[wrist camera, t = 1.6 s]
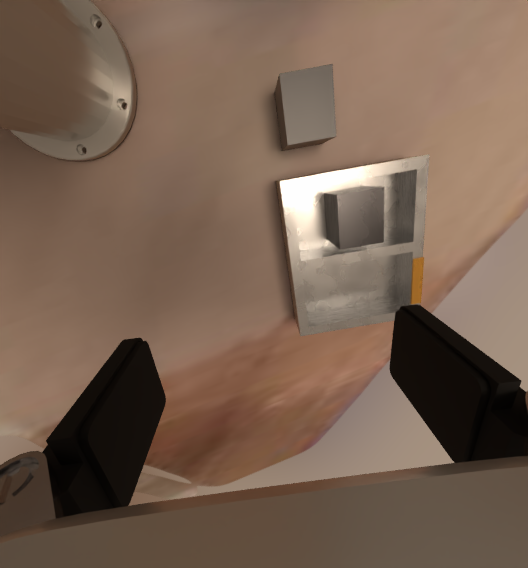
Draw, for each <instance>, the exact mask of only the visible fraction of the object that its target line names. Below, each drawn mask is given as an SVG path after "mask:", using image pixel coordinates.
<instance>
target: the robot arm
mask: <svg viewBox="0 0 528 568" xmlns="http://www.w3.org/2000/svg"><path fill="white" fill-rule="evenodd" d="M101 24H102V26H101V28H99V26H100V25H101ZM136 102H137V91H136V80H135V75H134V71H133V66H132V63H131V60H130V58H129V55H128V52H127V50H126V47H125V46H124V44H123V42H122V40H121V38H120V36H119V35H118V33H117V31H116V30H115V28H114V27H113V26H112V24H111V23H110V22H109V20H108V19H107V18H106V16H105V15H104V14H103V13H102V12H101V11H100V10H99V9H98V8H97V7H96V5H95V4H94V3H93V2H92V1H91V0H0V128H4V129H9V130H10V131H11V132H12V134H14V135H15V136H16V137H17V138H19V139H20V140H21V141H23V142H24V143H25V144H27V145H28V146H30V147H32V148H34V149H35V150H37V151H39V152H41V153H43V154H46V155H49V156H52V157H54V158H59V159H65V160H73V161H86V160H94V159H97V158H99V157H102V156H105V155H107V154H108V153H110V152H111V151H113V150H114V149H116V148H117V146H118V145H119V144H120V143H121V142H122V141H123V140H124V139H125V137H126V135H127V133H128V132H129V130H130V128H131V125H132V122H133V119H134V116H135V110H136ZM125 104H127V108H126V109H124V105H125ZM85 148H86V150H87V152H85ZM390 373H391V375H392V377H393V379H394V380H395V381H396V383H397V384H398V386H399V387H400V388H401V390H402V391H403V393H404V394H405V395H406V397H407V398H408V400H409V401H410V402H411V404H412V405H413V406H414V408H415V409H416V410H417V412H418V413H419V415H420V416H421V417H422V419H423V420H424V421H425V423H426V424H427V426H428V427H429V429H430V430H431V431H432V433H433V434H434V435H435V437H436V438H437V440H438V441H439V442H440V444H441V445H442V446H443V448H444V449H445V451H446V452H447V453H448V455H449V456H450V458H451V459H452V460H453V461H454V462H455V463H451V464H444V465H435V466H427V467H419V468H411V469H404V470H395V471H387V472H379V473H371V474H362V475H355V476H347V477H340V478H332V479H324V480H316V481H309V482H301V483H293V484H285V485H278V486H270V487H262V488H255V489H247V490H240V491H233V492H225V493H218V494H210V495H203V496H197V497H188V498H181V499H174V500H166V501H159V502H152V503H145V504H138V505H132V506H128V505H129V503H130V501H131V498H132V496H133V493H134V490H135V487H136V484H137V482H138V479H139V476H140V473H141V471H142V468H143V465H144V462H145V460H146V457H147V454H148V451H149V448H150V446H151V443H152V440H153V437H154V435H155V432H156V429H157V426H158V423H159V421H160V418H161V415H162V412H163V410H164V407H165V402H166V398H165V393H164V390H163V387H162V384H161V381H160V378H159V375H158V372H157V369H156V366H155V363H154V360H153V357H152V354H151V351H150V348H149V345H148V343H147V341H143V340H142V339H141V338H134V339H125V340H123V341H122V342H121V343H120V344H119V346H118V347H117V348H116V350H115V351H114V352H113V354H112V355H111V356H110V357H109V359H108V360H107V361H106V363H105V364H104V365H103V367H102V368H101V369H100V371H99V372H98V373H97V374H96V376H95V377H94V378H93V380H92V381H91V382H90V384H89V385H88V386H87V388H86V389H85V390H84V392H83V393H82V394H81V395H80V397H79V398H78V399H77V401H76V402H75V403H74V405H73V406H72V407H71V409H70V410H69V411H68V412H67V414H66V415H65V416H64V418H63V419H62V420H61V422H60V423H59V424H58V426H57V427H56V428H55V430H54V431H53V432H52V433H51V435H50V436H49V437H48V439H47V440H46V442H47V443H48V445H47V447H46V448H45V449H44V451H43V452H39V451H31V452H27V453H23V454H20V455H18V456H16V457H14V458H12V459H10V460H8V461H6V462H5V463H3V464H2V465H0V568H528V391H527V392H525V391H524V390H523V389H521V388H520V387H519V386H520V384H521V380H519V379H518V378H517V377H516V376H514V375H513V374H512V373H510V372H509V371H508V370H506V369H505V368H503V367H502V366H501V365H499V364H498V363H497V362H495V361H494V360H493V359H491V358H490V357H489V356H487V355H486V354H485V353H483V352H482V351H480V350H479V349H478V348H477V347H475V346H474V345H473V344H471V343H470V342H469V341H467V340H466V339H464V338H463V337H462V336H461V335H459V334H458V333H457V332H455V331H454V330H452V329H451V328H450V327H448V326H447V325H446V324H444V323H443V322H442V321H440V320H439V319H438V318H436V317H435V316H434V315H432V314H431V313H430V312H428V311H427V310H426V309H424V308H423V307H422V306H420V305H418V304H415V305H407V306H401V307H400V309H399V310H397V311H396V313H395V320H394V330H393V339H392V349H391V359H390Z"/></svg>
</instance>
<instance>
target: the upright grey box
mask: <svg viewBox="0 0 528 568" xmlns="http://www.w3.org/2000/svg"><path fill="white" fill-rule="evenodd" d="M275 100H276V108H277V116H278V124H279V132H280V140H281V148H282V151H284V150H290V149H295V148H301V147H306V146H312V145H317V144H323V143H325V142H327V141H328V140H330V139H332V138H334V137H336V121H335V102H334V83H333V65H332V64H329V65H324V66H319V67H313V68H308V69H302V70H297V71H292V72H286V73H281V74H279V77H278V81H277V85H276V89H275Z"/></svg>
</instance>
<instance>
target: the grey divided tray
mask: <svg viewBox="0 0 528 568" xmlns="http://www.w3.org/2000/svg"><path fill="white" fill-rule="evenodd" d="M428 168H429V155H422V156H415V157H408V158H402V159H396V160H390V161H385V162H379V163H374V164H368V165H363V166H357V167H351V168H346V169H340V170H335V171H329V172H324V173H318V174H312V175H307V176H301V177H296V178H290V179H284V180H279V181H276V187H277V194H278V201H279V208H280V216H281V223H282V230H283V237H284V244H285V252H286V259H287V266H288V273H289V280H290V287H291V295H292V302H293V309H294V316H295V321H296V324H297V327H298V330H299V333H300V336H305V335H311V334H317V333H323V332H329V331H335V330H340V329H346V328H352V327H358V326H364V325H370V324H376V323H382V322H388V321H394V320H395V313H396V311H397V310H399V309H400V307H401V306H407V305H415V304H418V305H420V303H421V294H422V279H423V264H424V258H423V245H424V229H425V214H426V199H427V183H428Z"/></svg>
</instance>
